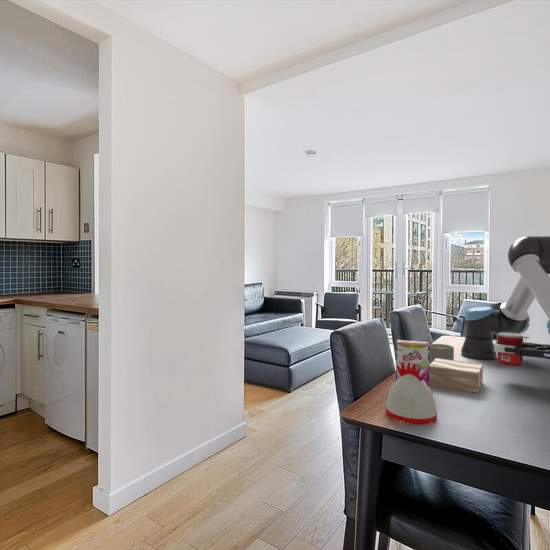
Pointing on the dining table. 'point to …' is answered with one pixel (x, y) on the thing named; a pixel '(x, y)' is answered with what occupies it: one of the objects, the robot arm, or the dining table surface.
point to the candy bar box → (413, 357)
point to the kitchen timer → (411, 398)
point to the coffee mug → (441, 352)
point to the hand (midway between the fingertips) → (495, 345)
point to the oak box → (456, 375)
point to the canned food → (510, 340)
